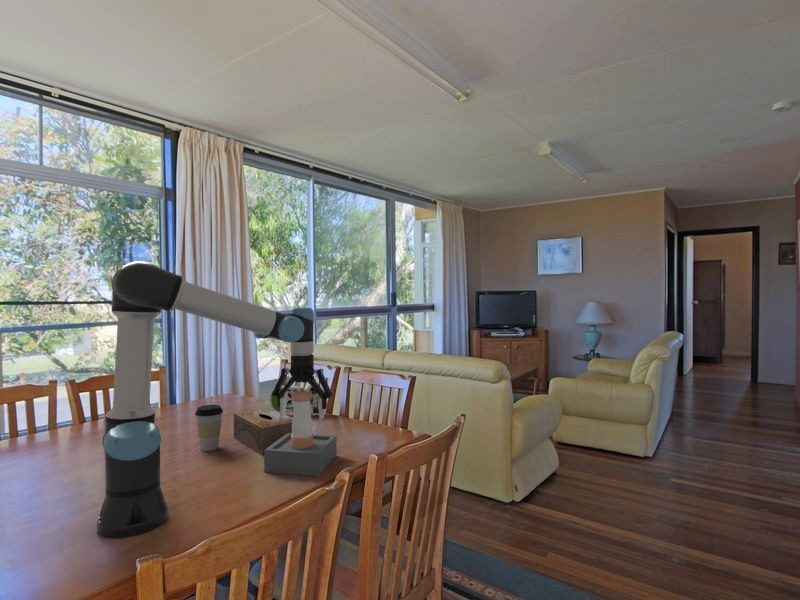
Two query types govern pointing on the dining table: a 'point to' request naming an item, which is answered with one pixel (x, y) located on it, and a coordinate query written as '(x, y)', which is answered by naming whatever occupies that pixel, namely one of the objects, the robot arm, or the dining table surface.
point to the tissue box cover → (260, 428)
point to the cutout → (290, 403)
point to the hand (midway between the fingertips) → (302, 417)
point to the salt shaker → (301, 420)
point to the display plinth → (300, 456)
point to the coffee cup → (209, 426)
